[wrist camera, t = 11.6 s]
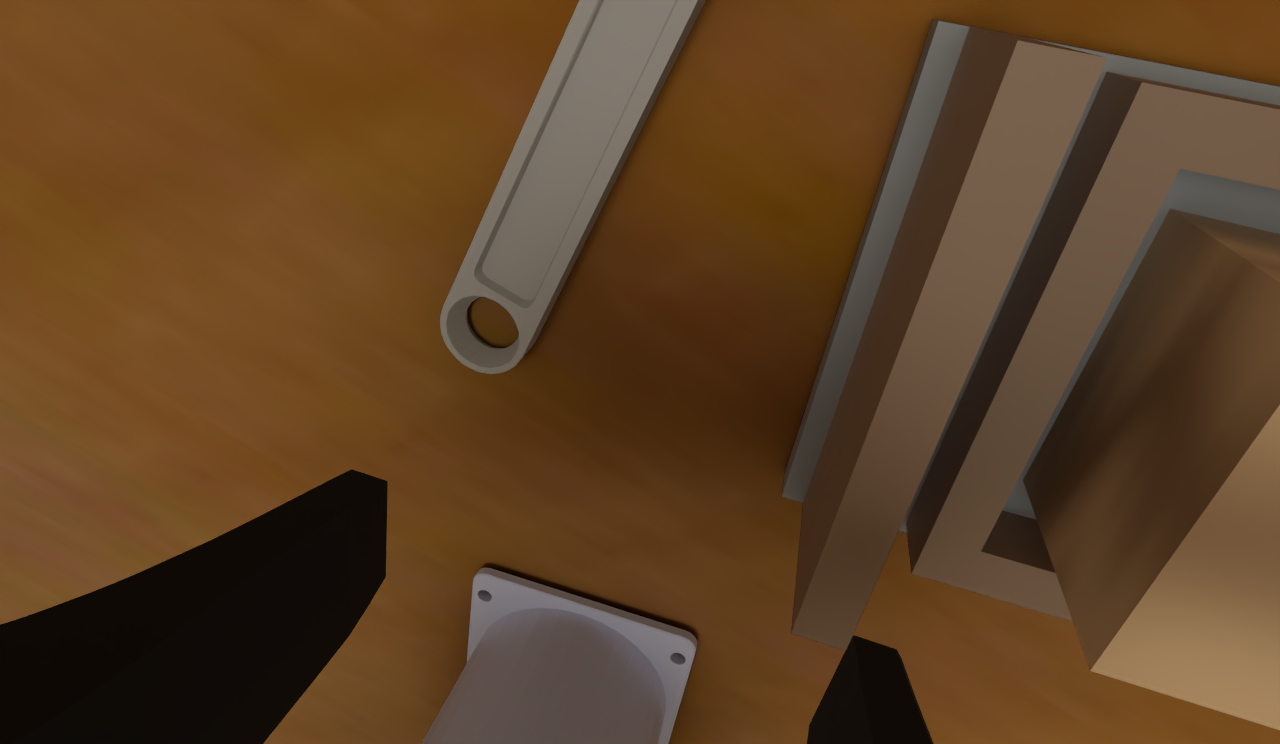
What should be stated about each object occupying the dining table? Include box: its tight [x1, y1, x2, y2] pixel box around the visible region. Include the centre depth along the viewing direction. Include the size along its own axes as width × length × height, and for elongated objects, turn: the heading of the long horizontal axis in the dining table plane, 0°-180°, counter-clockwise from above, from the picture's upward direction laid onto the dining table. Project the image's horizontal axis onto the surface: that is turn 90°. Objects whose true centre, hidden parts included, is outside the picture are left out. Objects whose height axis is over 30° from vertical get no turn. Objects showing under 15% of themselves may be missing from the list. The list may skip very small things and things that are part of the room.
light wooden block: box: [1023, 209, 1280, 730], centre depth 14 cm, size 7×4×6 cm, turn 169°
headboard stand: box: [782, 19, 1280, 651], centre depth 15 cm, size 12×12×6 cm
